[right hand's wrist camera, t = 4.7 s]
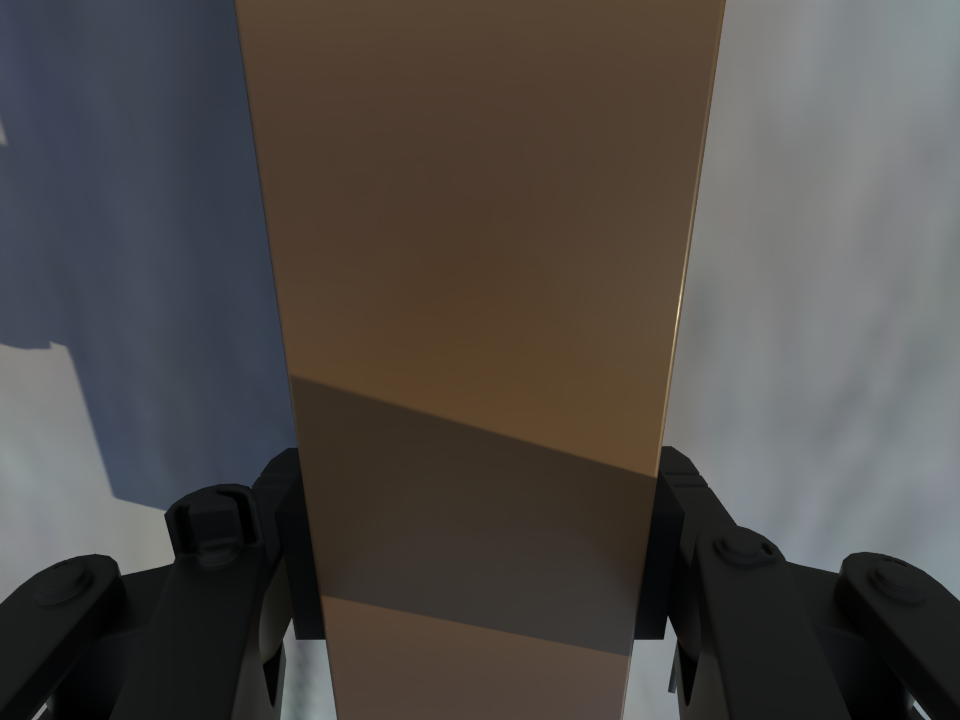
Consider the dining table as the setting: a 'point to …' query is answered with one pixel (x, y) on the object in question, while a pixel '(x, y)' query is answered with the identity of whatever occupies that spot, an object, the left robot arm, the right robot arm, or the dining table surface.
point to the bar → (479, 328)
